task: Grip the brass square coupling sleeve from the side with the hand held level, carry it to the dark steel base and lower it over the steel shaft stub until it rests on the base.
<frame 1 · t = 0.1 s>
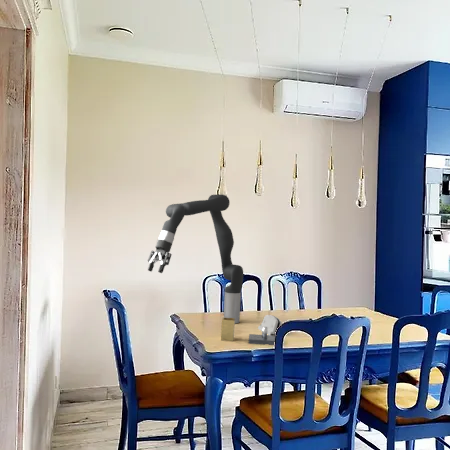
hand: (154, 271, 234), 31 cm above the table, tool tilted 20°, fingers open, 8 cm apart
hinge: (269, 332, 253), on the table
shaft stand: (264, 341, 231), on the table
coupler: (227, 339, 233), on the table
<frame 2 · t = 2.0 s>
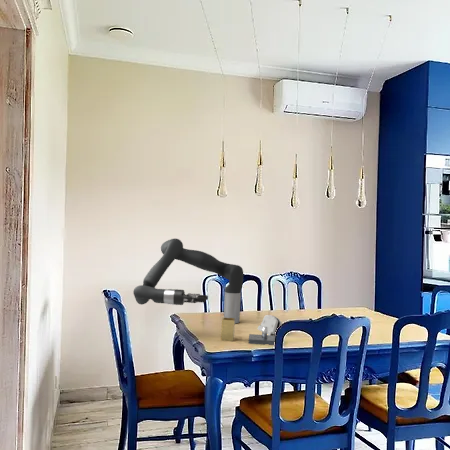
hand: (206, 298, 234), 19 cm above the table, tool horizontal, fingers open, 8 cm apart
nothing on the table moved.
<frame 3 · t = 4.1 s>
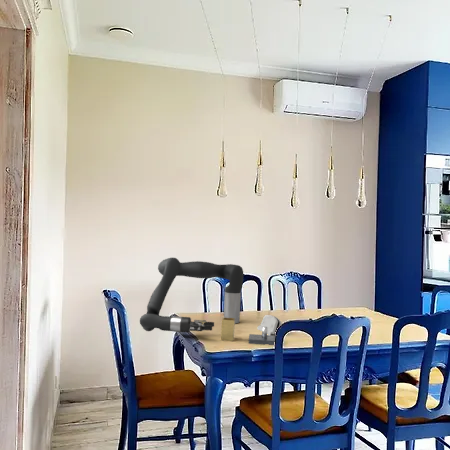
hand: (213, 326, 233), 6 cm above the table, tool horizontal, fingers open, 8 cm apart
nothing on the table moved.
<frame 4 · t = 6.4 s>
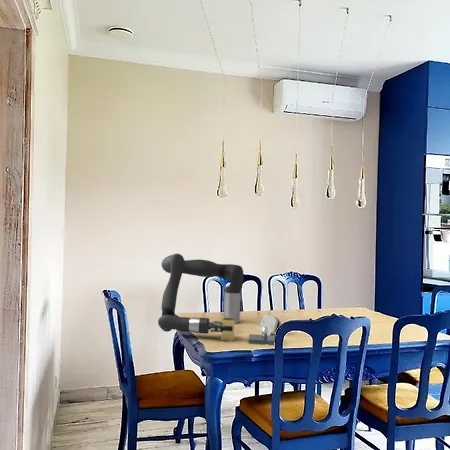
hand: (232, 327, 233), 6 cm above the table, tool horizontal, fingers closed on coupler, 6 cm apart
coupler: (227, 339, 233), on the table, touching gripper
everything else where it was.
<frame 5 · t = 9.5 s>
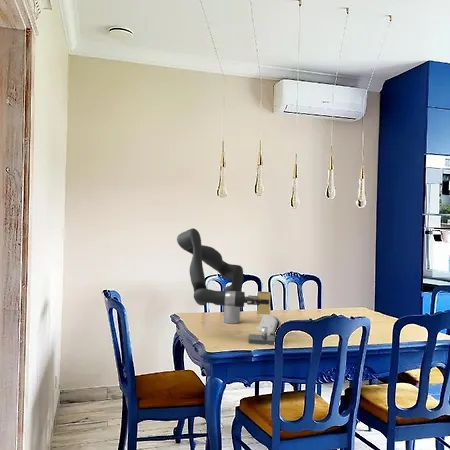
hand: (268, 301, 231), 20 cm above the table, tool horizontal, fingers closed on coupler, 6 cm apart
coupler: (263, 313, 231), point 14 cm above the table, touching gripper
everything else where it was.
when the fingers open (9 cm above the table, at t = 12.7 s): coupler drops 1 cm, resting on shaft stand.
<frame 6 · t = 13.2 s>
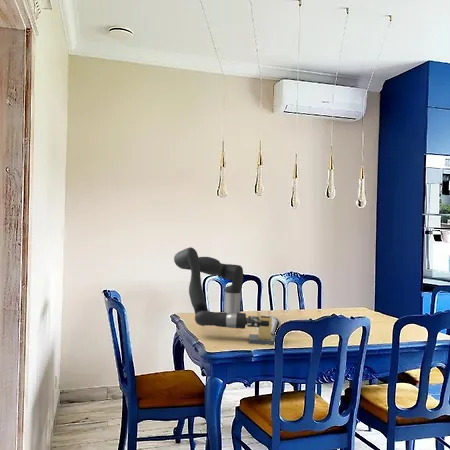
hand: (269, 322, 231), 10 cm above the table, tool horizontal, fingers open, 8 cm apart
coupler: (264, 337, 231), point 2 cm above the table, touching shaft stand
everything else where it was.
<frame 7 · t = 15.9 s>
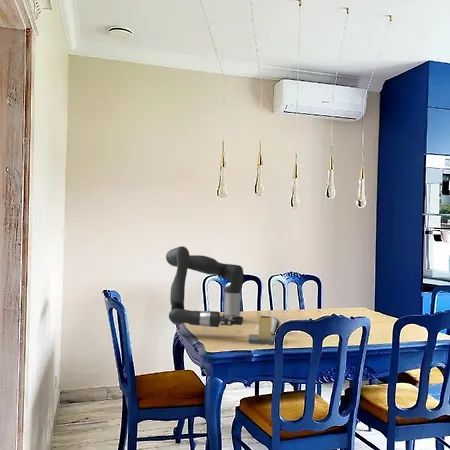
hand: (242, 320, 232), 9 cm above the table, tool horizontal, fingers open, 8 cm apart
nothing on the table moved.
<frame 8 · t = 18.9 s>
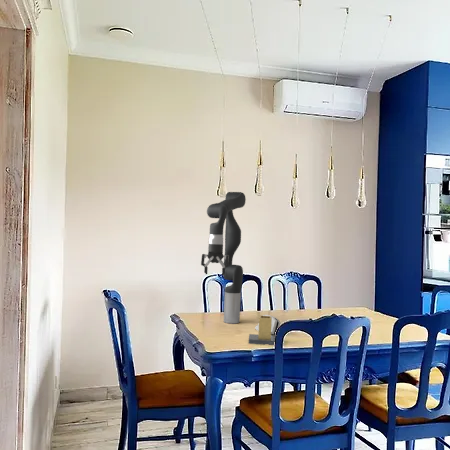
hand: (214, 274, 245), 30 cm above the table, tool pointing down, fingers open, 8 cm apart
at the end: coupler 0.0 cm off-centre on the shaft stand, point 2.0 cm above the shaft stand's base; coupler tilted 0°; the gripper is holding nothing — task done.
